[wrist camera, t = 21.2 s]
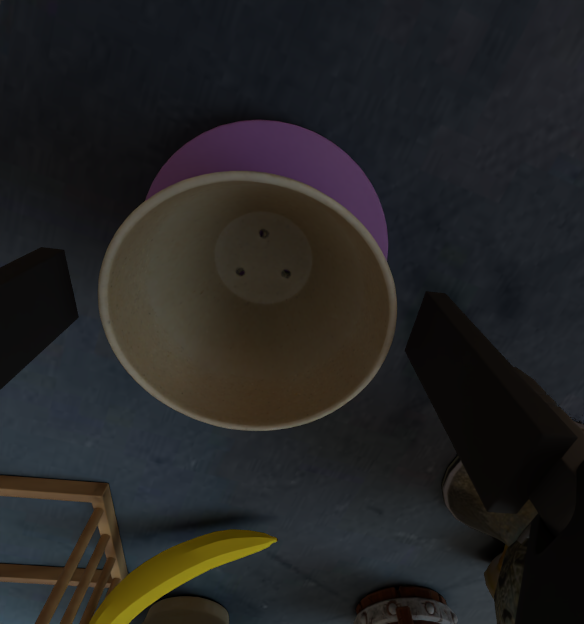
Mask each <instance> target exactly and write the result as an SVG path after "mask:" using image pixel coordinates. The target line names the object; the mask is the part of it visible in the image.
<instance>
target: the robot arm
mask: <svg viewBox="0 0 584 624" xmlns="http://www.w3.org/2000/svg"><path fill="white" fill-rule="evenodd" d="M77 318H79V316H78V312H77V307H76V302H75V298H74V293H73V289H72V284H71V279H70V275H69V270H68V266H67V261H66V256H65V252H64V250H61V249H53V248H44V247H41V248H39V249H37V250H35V251H33V252H31V253H29V254H27V255H25V256H23V257H21V258H19V259H17V260H15V261H13V262H11V263H9V264H7V265H5V266H3V267H1V268H0V389H2V388H3V387H4V386H5V385H6V384H7V383H8V382H9V381H10V380H11V379H12V378H13V377H15V376H16V375H17V374H18V373H19V372H20V371H21V370H22V369H23V368H24V367H25V366H26V365H28V364H29V363H30V362H31V361H32V360H33V359H34V358H35V357H36V356H37V355H38V354H39V353H41V352H42V351H43V350H44V349H45V348H46V347H47V346H48V345H49V344H50V343H51V342H53V341H54V340H55V339H56V338H57V337H58V336H59V335H60V334H61V333H62V332H63V331H64V330H66V329H67V328H68V327H69V326H70V325H71V324H72V323H73V322H74V321H75V320H76V319H77ZM405 352H406V354H407V356H408V358H409V360H410V362H411V364H412V366H413V368H414V370H415V372H416V374H417V376H418V378H419V380H420V381H421V383H422V385H423V387H424V389H425V391H426V393H427V395H428V397H429V399H430V401H431V403H432V405H433V407H434V409H435V411H436V413H437V415H438V417H439V419H440V421H441V423H442V425H443V427H444V429H445V431H446V432H447V434H448V436H449V438H450V440H451V442H452V444H453V446H454V448H455V450H456V452H457V454H458V456H459V458H460V460H461V462H462V464H463V466H464V468H465V470H466V472H467V474H468V476H469V478H470V480H471V482H472V483H473V485H474V487H475V489H476V491H477V493H478V495H479V497H480V499H481V501H482V503H483V505H484V507H485V509H486V511H487V512H494V513H509V514H517V513H518V512H519V511H520V509H521V508H522V507H523V506H524V504H525V503H526V502H527V501H528V499H530V501H531V503H532V504H533V506H534V507H535V509H536V510H537V512H538V514H537V515H536V516H535V517H534V519H533V520H532V521H531V522H530V523H529V524H528V526H527V527H526V528H525V529H524V530H523V531H522V533H521V534H520V535H519V537H518V539H517V541H518V542H520V543H521V544H522V543H523V542H524V540H525V539H526V538H529V540H528V546H527V552H526V558H525V564H524V570H523V576H522V582H521V588H520V594H519V600H518V606H517V612H516V618H515V624H584V432H583V431H582V430H581V429H580V427H579V426H578V425H577V424H576V423H575V422H574V421H573V420H572V419H571V418H570V417H569V416H568V415H567V414H566V413H565V412H564V411H563V410H562V409H561V408H560V407H557V403H556V402H555V401H554V400H553V399H552V398H551V397H550V396H549V395H546V392H545V391H544V390H543V389H542V388H541V387H540V386H539V385H538V384H537V382H536V381H535V380H534V379H532V378H531V377H529V376H528V375H526V374H525V373H524V372H522V371H521V370H519V369H518V368H516V367H513V366H512V365H511V364H510V363H509V362H508V361H507V360H506V359H505V358H504V357H503V356H502V354H501V353H500V352H499V351H498V350H497V349H496V348H495V347H494V346H493V345H492V344H491V342H490V341H489V340H488V339H487V338H486V337H485V336H484V335H483V334H482V333H481V332H480V331H479V329H478V328H477V327H476V326H475V325H474V324H473V323H472V322H471V321H470V320H469V319H468V318H467V316H466V315H465V314H464V313H463V312H462V311H461V310H460V309H459V308H458V307H457V306H456V304H455V303H454V302H453V301H452V300H451V299H450V298H449V297H448V296H447V295H446V294H444V293H435V292H427V291H426V293H425V296H424V298H423V301H422V304H421V307H420V310H419V312H418V315H417V318H416V321H415V323H414V326H413V329H412V332H411V334H410V337H409V340H408V343H407V345H406V348H405Z"/></svg>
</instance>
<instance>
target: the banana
mask: <svg viewBox="0 0 584 624" xmlns="http://www.w3.org/2000/svg"><path fill="white" fill-rule="evenodd" d="M277 541H278V539H277V538H276V537H272V536H270V535H268V534H266V533H261V532H256V531H249V530H236V529H231V530H224V531H216V532H212V533H209V534H206V535H203V536H200V537H197V538H194V539H191V540H188V541H186V542H183V543H180V544H178V545H176V546H174V547H172V548H169V549H167V550H165V551H163V552H161V553H159V554H158V555H156V556H154V557H153V558H151V559H149V560H148V561H146V562H144V563H143V564H142V565H140V566H139V567H138V568H136V569H135V570H134V571H132V572H131V573H129V574H128V575H127V576H126V577H125V578H124V579H123V580H122V581H121V582H120V583H119V584H118V585H117V586H116V587H115V588H114V589H113V590H112V591H111V593H110V594H109V595H108V596H107V597H106V598H105V600H104V601H103V602H102V604H101V605H100V607H99V608H98V609H97V611H96V612H95V614H94V615H93V617H92V618H91V620H90V622H89V624H129V623H130V622H131V621H132V619H134V618H135V617H136V616H137V615H138V614H139V613H141V612H142V611H143V610H144V609H145V608H147V607H148V606H149V605H151V604H152V603H154V602H155V601H156V600H158V599H159V598H161V597H162V596H164V595H165V594H167V593H168V592H170V591H172V590H173V589H175V588H176V587H178V586H180V585H182V584H183V583H185V582H187V581H189V580H191V579H192V578H194V577H196V576H198V575H200V574H202V573H204V572H206V571H208V570H210V569H212V568H215V567H217V566H220V565H223V564H225V563H228V562H231V561H234V560H237V559H239V558H242V557H245V556H248V555H250V554H253V553H256V552H258V551H261V550H263V549H265V548H268V547H269V546H270V545H271V544H272V543H274V542H277Z"/></svg>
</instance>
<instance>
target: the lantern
mask: <svg viewBox="0 0 584 624" xmlns="http://www.w3.org/2000/svg"><path fill="white" fill-rule="evenodd" d="M575 423H576V424H577V425H578V426H579V427H580V429H581V430H582V431H583V432H584V425H583V424H580V423H577V422H575ZM442 491H443V498H444V502H445V504H446V506H447V508H448V509H449V510H450V512H451V513H452V514H453V516H454V517H455V518H456V519H457V520H459V521H460V522H462V523H464V524H465V525H467V526H469V527H470V528H473V529H475V530H477V531H479V532H482V533H484V534H487V535H489V536H492V537H495V538H497V539H499V540H501V541H502V542H504V543H505V544H506V545H507V546H509V547H508V548H507V549H506V553H505V556H504V559H503V562H502V566H501V570H500V574H499V578H498V582H497V586H496V589H495V593H494V602H495V610H496V619H497V624H515V618H516V612H517V606H518V600H519V594H520V588H521V582H522V576H523V570H524V564H525V558H526V552H527V546H528V540H529V538H526V539H525V540H524V542H523V543H522V544H521V543H520V542H518V541H517V539H518V537H519V535H520V534H521V533H522V531H523V530H524V529H525V528H526V527H527V526H528V524H529V523H530V522H531V521H532V520H533V519H534V517H535V516H536V515H537V514H538V512H537V510H536V509H535V507H534V506H533V504H532V503H531V501H530V499H528V501H527V502H526V503H525V504H524V506H523V507H522V508H521V509H520V511H519V512H518V513H517V514H509V513H494V512H487V511H486V509H485V507H484V505H483V503H482V501H481V499H480V497H479V495H478V493H477V491H476V489H475V487H474V485H473V483H472V482H471V480H470V478H469V476H468V474H467V472H466V470H465V468H464V466H463V464H462V462H461V460H460V458H459V456H457V457H456V458H455V460H454V461H453V462H452V463H451V464H450V466H449V467H448V468H447V471H446V474H445V477H444V480H443V482H442Z"/></svg>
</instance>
